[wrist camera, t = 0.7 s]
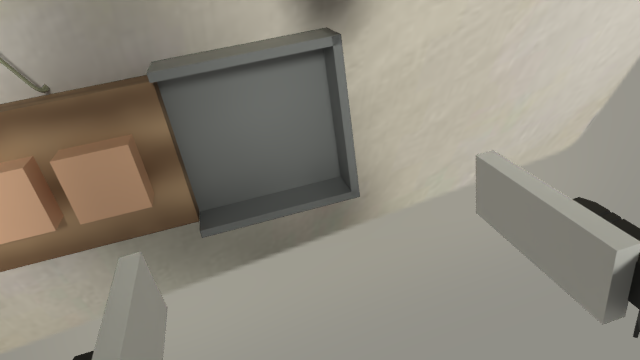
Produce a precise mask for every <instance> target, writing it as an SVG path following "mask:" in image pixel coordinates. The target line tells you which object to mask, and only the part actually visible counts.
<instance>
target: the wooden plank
mask: <svg viewBox="0 0 640 360" xmlns="http://www.w3.org/2000/svg"><path fill="white" fill-rule="evenodd" d="M130 134H132V135H133V138H134V141H135V143H136V146H137V149H138V151H139V154H140V156H141V159H142V162H143V164H144V167H145V170H146V172H147V175H148V177H149V180H150V183H151V185H152V188H153V191H154V193H155V195H154V200H153V206H152V207H150V208H146V209H142V210H138V211H134V212H130V213H126V214H122V215H118V216H114V217H110V218H105V219H101V220H97V221H93V222H89V223H85V224H81V225H80V222H79V220H78V218H77V216H76V214H75V212H74V210H73V208H72V206H71V204H70V202H69V200H68V198H67V196H66V194H65V192H64V190H63V188H62V186H61V184H60V182H59V180H58V178H57V176H56V174H55V172H54V170H53V168H52V166H51V164H50V161H51V159H52V158H53V157H54V155H55V154H56V153H57V151H58V150H61V149H66V148H71V147H75V146H80V145H84V144H89V143H93V142H98V141H102V140H107V139H112V138H116V137H121V136H125V135H130ZM30 156H34V158H35V160H36V162H37V164H38V166H39V168H40V170H41V172H42V174H43V176H44V178H45V180H46V182H47V184H48V186H49V188H50V190H51V192H52V194H53V196H54V198H55V200H56V202H57V204H58V205H59V207H60V209H61V211H62V213H63V215H64V216H63V218H62V220H61V222H60V224H59V226H58V228H57V230H56V231H53V232H49V233H45V234H40V235H36V236H32V237H28V238H24V239H20V240H16V241H12V242H8V243H4V244H0V272H2V271H6V270H10V269H14V268H18V267H22V266H26V265H30V264H34V263H38V262H41V261H45V260H49V259H53V258H57V257H61V256H65V255H69V254H73V253H77V252H81V251H85V250H88V249H92V248H96V247H100V246H104V245H108V244H112V243H116V242H120V241H124V240H128V239H132V238H135V237H139V236H143V235H147V234H151V233H155V232H159V231H163V230H167V229H171V228H175V227H179V226H182V225H186V224H190V223H194V222H198V221H199V208H198V205H197V202H196V199H195V196H194V193H193V190H192V187H191V184H190V181H189V178H188V175H187V172H186V169H185V166H184V163H183V160H182V157H181V154H180V151H179V148H178V145H177V142H176V139H175V136H174V132H173V129H172V126H171V123H170V120H169V117H168V114H167V111H166V108H165V105H164V102H163V99H162V96H161V93H160V90H159V87H158V84H157V82H153V83H150V82H149V79H148V76H147V75H144V76H139V77H134V78H129V79H124V80H119V81H114V82H109V83H104V84H99V85H94V86H89V87H84V88H79V89H74V90H69V91H64V92H59V93H54V94H49V95H44V96H39V97H34V98H29V99H24V100H19V101H14V102H9V103H4V104H0V163H2V162H7V161H11V160H16V159H20V158H25V157H30Z"/></svg>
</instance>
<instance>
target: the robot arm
mask: <svg viewBox="0 0 640 360" xmlns="http://www.w3.org/2000/svg"><path fill="white" fill-rule="evenodd" d="M476 213H477V214H478V215H479V216H480V217H482V218H483V219H484V220H485V221H486V222H487V223H488V224H489V225H490V226H492V227H493V228H494V229H495V230H496V231H497V232H498V233H500V234H501V235H502V236H503V237H504V238H505V239H506V240H507V241H509V242H510V243H511V244H512V245H513V246H514V247H515V248H517V249H518V250H519V251H520V252H521V253H522V254H523V255H525V256H526V257H527V258H528V259H529V260H530V261H531V262H532V263H534V264H535V265H536V266H537V267H538V268H539V269H540V270H541V271H543V272H544V273H545V274H546V275H547V276H548V277H549V278H550V279H552V280H553V281H554V282H555V283H556V284H557V285H558V286H560V287H561V288H562V289H563V290H564V291H565V292H566V293H567V294H568V295H570V296H571V297H572V298H573V299H574V300H575V301H576V302H578V303H579V304H580V305H581V306H582V307H583V308H584V309H585V310H587V311H588V312H589V313H590V314H591V315H592V316H594V317H595V318H596V319H597V320H598V321H599V322H600V323H601V324H602V325H603V324H606V323H609V322H611V321H614V320H617V319H619V318H622V317H625V314H626V310H627V306H628V301H629V302H631V303H632V304H633V305H634V306H636V307H637V308H638V309H639V314H638V317H637V321H636V326H635V330H634V335H633V337H635V338H637V337H638V334H639V332H640V228H638V227H636V226H635V225H633V224H631V223H630V222H628V221H626V220H625V219H621V217H620V216H618V215H616V214H615V213H613V212H612V213H611V212H610V211H609V210H608V209H606V208H604V207H603V206H601V205H599V204H598V203H596V202H593V201H590V200H586V199H583V198H580V197H578V198H575V199H571V198H569V197H568V196H566V195H565V194H563V193H561V192H560V191H558V190H556V189H555V188H553V187H552V186H550V185H548V184H547V183H545V182H544V181H542V180H540V179H539V178H537V177H535V176H534V175H532V174H531V173H529V172H527V171H526V170H524V169H523V168H521V167H520V166H518V165H516V164H515V163H513V162H511V161H510V160H508V159H507V158H505V157H503V156H502V155H500V154H499V153H497V152H495V151H494V150H492V151H488V152H485V153H481V154H478V155H476ZM166 319H167V306H166V304H165V302H164V299H163V297H162V295H161V293H160V291H159V289H158V287H157V284H156V282H155V280H154V278H153V276H152V274H151V272H150V270H149V267H148V265H147V263H146V261H145V259H144V257H143V255H142V253H141V252H137V253H134V254H130V255H127V256H123V257H120V258H119V259H118V263H117V267H116V271H115V274H114V278H113V282H112V285H111V289H110V293H109V297H108V300H107V304H106V308H105V312H104V315H103V319H102V323H101V327H100V330H99V334H98V338H97V342H96V345H95V349H94V351H91V352H88V353H85V354H81V355H78V356H75V357H74V359H73V360H163V353H164V342H165V330H166Z"/></svg>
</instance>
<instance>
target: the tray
mask: <svg viewBox="0 0 640 360" xmlns="http://www.w3.org/2000/svg"><path fill="white" fill-rule="evenodd" d="M147 76H148V79H149V82H150V83H153V82H157V84H158V87H159V90H160V93H161V96H162V99H163V102H164V105H165V108H166V111H167V114H168V117H169V120H170V123H171V126H172V129H173V132H174V136H175V139H176V142H177V145H178V148H179V151H180V154H181V157H182V160H183V163H184V166H185V169H186V172H187V175H188V178H189V181H190V184H191V187H192V190H193V193H194V196H195V199H196V202H197V205H198V208H199V211H200V233H201V236H202V238H204V237H207V236H211V235H215V234H219V233H223V232H227V231H230V230H234V229H238V228H242V227H246V226H249V225H253V224H257V223H261V222H265V221H269V220H272V219H276V218H280V217H284V216H288V215H292V214H295V213H299V212H303V211H307V210H311V209H314V208H318V207H322V206H326V205H330V204H334V203H337V202H341V201H345V200H349V199H353V198H357V197H360V193H359V185H358V176H357V168H356V159H355V151H354V142H353V134H352V125H351V117H350V108H349V99H348V91H347V82H346V74H345V65H344V57H343V48H342V40H341V34H339V33H337V32H335V31H333V30H331V29H329V28H322V29H317V30H312V31H307V32H302V33H297V34H292V35H287V36H282V37H276V38H271V39H266V40H261V41H256V42H251V43H246V44H241V45H236V46H231V47H225V48H220V49H215V50H210V51H205V52H200V53H195V54H190V55H185V56H180V57H174V58H169V59H164V60H159V61H154V62H151V65H150V67H149V69H148V71H147Z"/></svg>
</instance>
